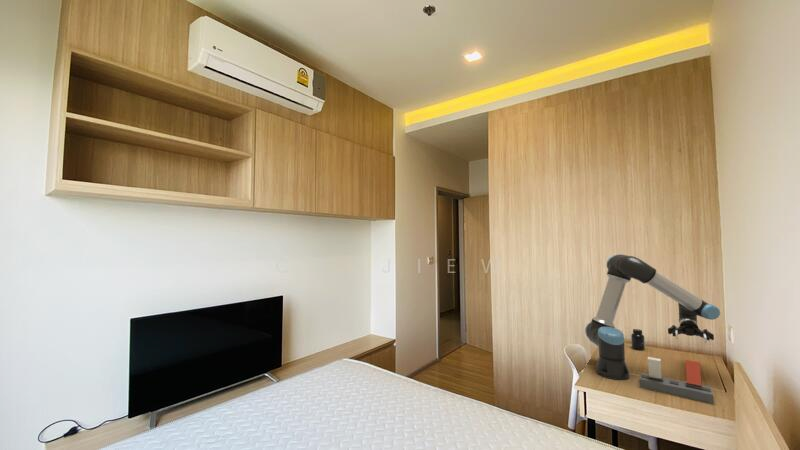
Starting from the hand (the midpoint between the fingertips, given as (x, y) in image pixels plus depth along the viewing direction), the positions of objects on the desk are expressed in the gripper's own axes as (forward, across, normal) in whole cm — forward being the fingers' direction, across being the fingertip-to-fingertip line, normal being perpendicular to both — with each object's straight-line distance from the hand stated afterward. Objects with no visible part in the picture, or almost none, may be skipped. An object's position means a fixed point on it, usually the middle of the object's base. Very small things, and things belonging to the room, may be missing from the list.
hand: (690, 338), depth 156 cm
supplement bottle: (-48, +24, -24) cm, 59 cm away
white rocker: (+9, +14, -19) cm, 25 cm away
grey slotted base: (+9, +7, -24) cm, 26 cm away
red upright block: (+9, 0, -19) cm, 21 cm away
